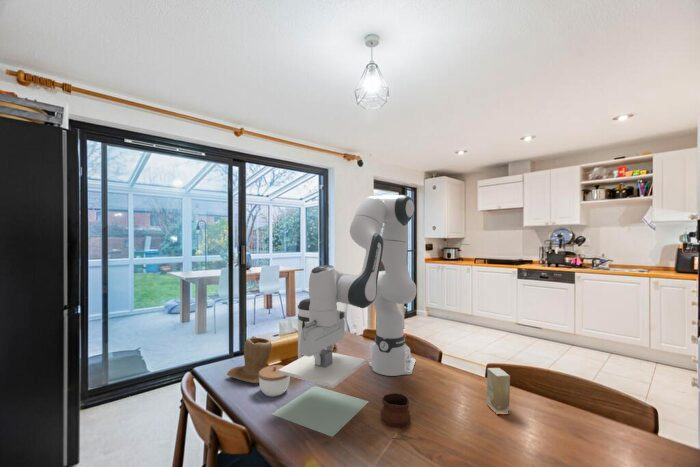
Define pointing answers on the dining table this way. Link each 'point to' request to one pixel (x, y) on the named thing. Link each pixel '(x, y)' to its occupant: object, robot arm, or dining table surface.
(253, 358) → the brown boot
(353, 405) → the mat
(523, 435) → the dining table surface
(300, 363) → the lid
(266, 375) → the lidded jar
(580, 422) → the dining table surface
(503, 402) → the skincare box
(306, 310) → the coffee press
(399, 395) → the ceramic pot
